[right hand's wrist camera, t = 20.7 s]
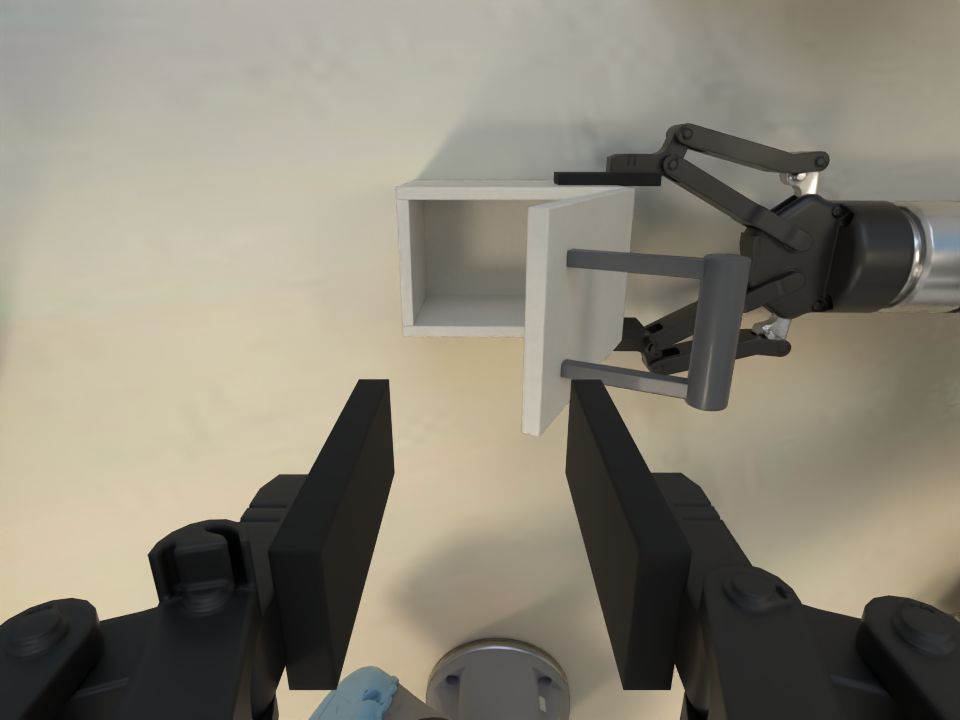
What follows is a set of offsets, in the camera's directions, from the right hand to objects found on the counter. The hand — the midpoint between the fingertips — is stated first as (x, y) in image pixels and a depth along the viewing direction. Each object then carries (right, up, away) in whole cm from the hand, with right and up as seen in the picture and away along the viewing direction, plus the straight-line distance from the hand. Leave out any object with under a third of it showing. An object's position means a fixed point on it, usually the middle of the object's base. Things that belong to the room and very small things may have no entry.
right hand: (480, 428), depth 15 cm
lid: (+5, +5, +14) cm, 16 cm away
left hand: (+5, +9, +24) cm, 26 cm away
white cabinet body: (+2, +11, +30) cm, 32 cm away
